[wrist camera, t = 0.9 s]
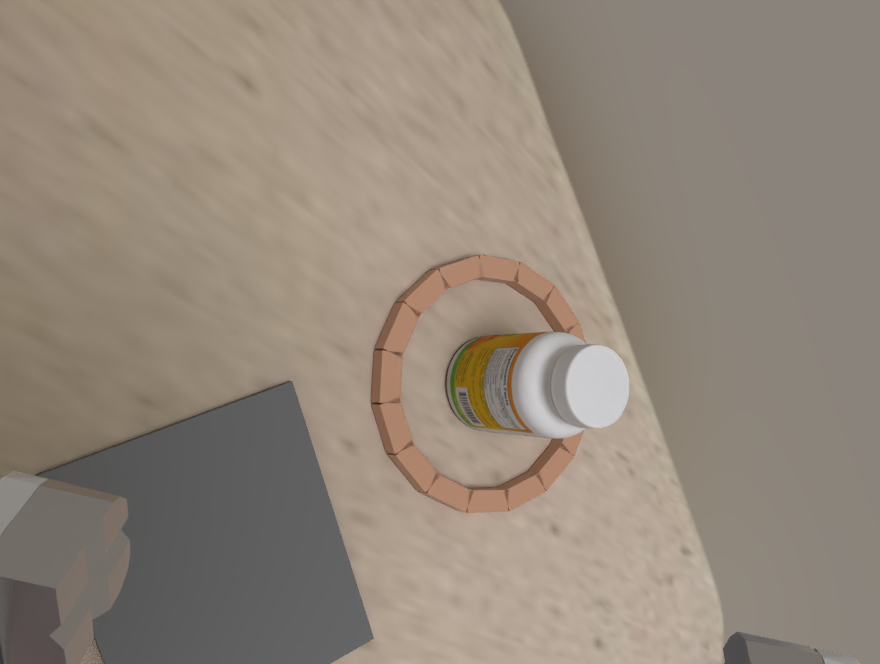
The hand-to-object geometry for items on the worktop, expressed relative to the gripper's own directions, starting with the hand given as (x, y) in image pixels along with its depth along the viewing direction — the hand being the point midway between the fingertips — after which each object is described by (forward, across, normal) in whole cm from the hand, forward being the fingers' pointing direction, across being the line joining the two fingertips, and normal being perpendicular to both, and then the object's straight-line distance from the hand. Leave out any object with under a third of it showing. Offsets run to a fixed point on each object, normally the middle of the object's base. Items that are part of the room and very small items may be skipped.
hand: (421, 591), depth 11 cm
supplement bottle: (+31, -2, +19) cm, 37 cm away
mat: (+18, +9, +23) cm, 31 cm away
